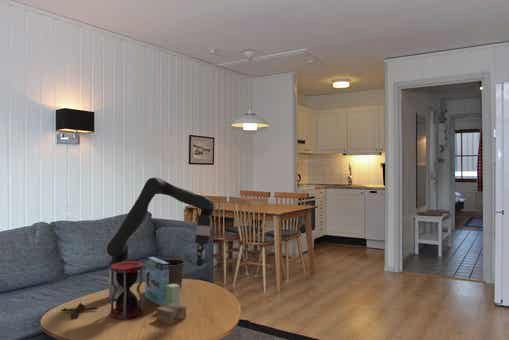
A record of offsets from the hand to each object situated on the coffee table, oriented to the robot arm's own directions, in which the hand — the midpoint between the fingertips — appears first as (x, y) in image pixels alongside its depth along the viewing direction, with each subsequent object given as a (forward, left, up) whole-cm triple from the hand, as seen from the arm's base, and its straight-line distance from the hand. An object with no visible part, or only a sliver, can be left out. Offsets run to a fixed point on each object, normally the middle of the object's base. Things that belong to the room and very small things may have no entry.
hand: (199, 265), depth 217 cm
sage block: (-13, +7, -23) cm, 27 cm away
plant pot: (-7, +43, -23) cm, 49 cm away
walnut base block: (-16, -9, -23) cm, 30 cm away
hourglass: (-36, +6, -23) cm, 43 cm away
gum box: (-19, +21, -23) cm, 37 cm away
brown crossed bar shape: (-59, +15, -24) cm, 65 cm away
